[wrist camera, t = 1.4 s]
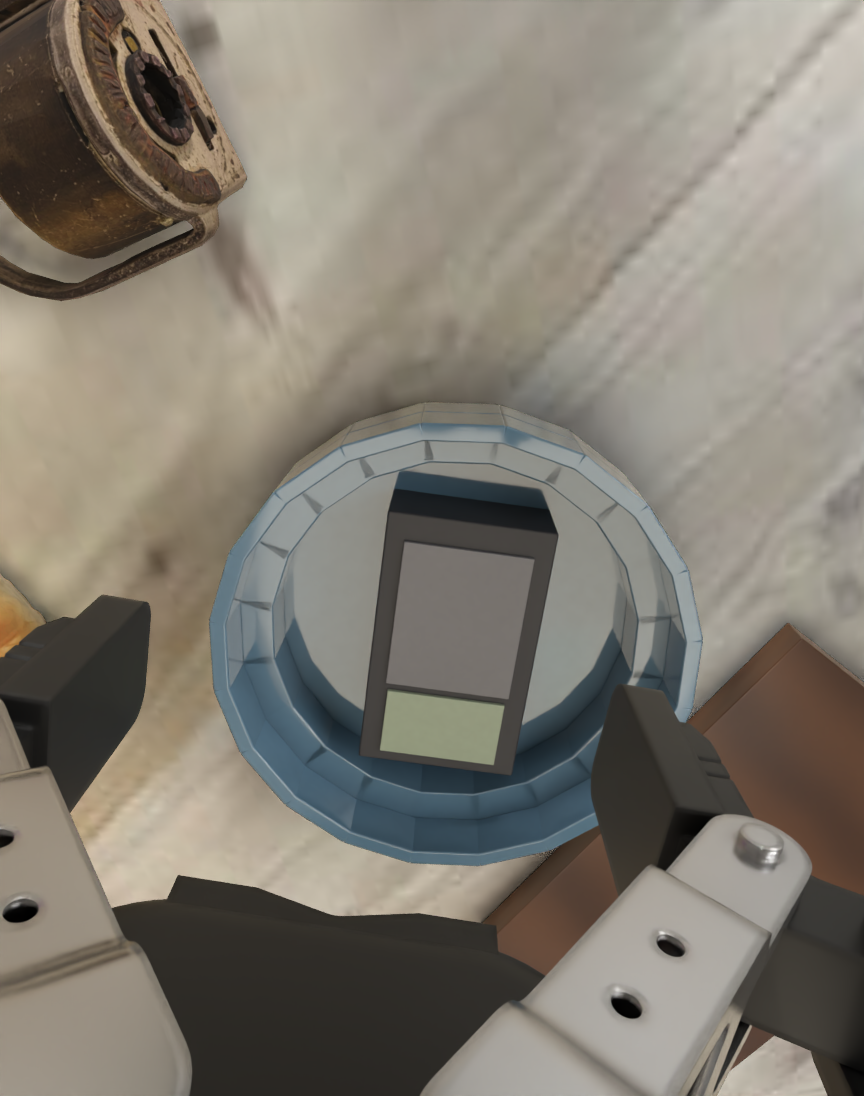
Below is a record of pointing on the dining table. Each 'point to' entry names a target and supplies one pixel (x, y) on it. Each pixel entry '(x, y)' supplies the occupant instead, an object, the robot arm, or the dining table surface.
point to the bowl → (349, 614)
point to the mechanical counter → (105, 137)
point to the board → (760, 776)
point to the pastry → (15, 616)
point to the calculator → (456, 630)
